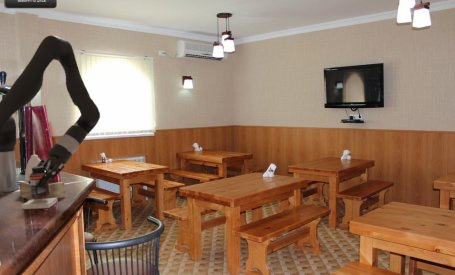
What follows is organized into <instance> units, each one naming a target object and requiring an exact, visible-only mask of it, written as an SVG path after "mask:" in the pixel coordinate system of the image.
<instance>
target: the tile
mask: <svg viewBox="0 0 455 275" xmlns="http://www.w3.org/2000/svg"><path fill="white" fill-rule="evenodd" d="M58 202H59V201H58V199H57V198H43V199H31V200H30V199H28V201H26V202H24V203H22V205H21V208H22V209H21V210H33V209H36V210H37V209H50V208H51V207H52V206H53V205H56V203H58Z"/></svg>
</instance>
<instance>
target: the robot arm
mask: <svg viewBox="0 0 455 275" xmlns="http://www.w3.org/2000/svg"><path fill="white" fill-rule="evenodd" d="M74 52H75V51H74V49H73V46H72V44H71V43H70V41H69V40H67V39H64V38H63V37H59V36H56V35H52V34H51V35H50V34H49V35H47V36H46V37H44V38H43V39H42V40H41V42H40V44H39V45H38V47H37V49H36V50H35V52H34V54H33V56H31V57H32V58H31V59H30V60H29V62H28V64H27V65H26V66H25V68H24V69H23V71H22V72H21V73H20V75H19V76H18V77H17V78H16V80H15V81H14V83H12V85H11V86H10V89H9V90H8V91H7V92H6V93H5V95H4V96H3V97H2V99H0V100H1V101H0V193H8V192H15V191H17V190H18V175H17V164H16V163H17V161H16V148H15V147H16V144H17V123H16V120H15V118H14V117H13V115H14V114H15V113H17V111H19V110H21V109H22V108H23V107H25V106H27V105H28V104H29V103H31V102H32V101H33V99H34V98H35V97H36V96H37V94H38V93H39V92H40V91H41V89H42V87H43V83H44V74H45V71H46V69H47V68H48V67H49V65H50V64H51V63H52V62H53V61H54V60H55V61H57V62H59V63H60V66H61V67H62V69H63V71H64V73H65V86H66V90H67V93H68V94H69V97H70V99H71V102H72V104H74V106H76V107H77V109H78V110H79V112H80V116H79V117H78V119H77V120H76V122H75V123H74V124H72V125H70V127H69V128H68V129H67V130H66V131H65V133H64V134H63V135H61V136H60V138H59V139H58V140H57V141H56V142H55V143H54V145H53V146H52V147H51V148H50V149H49V151H48V152H47V154H48V157H47V159H46V160H44V159H40V160H41V161H40V163H39V164H38V165H37V166H44V171H45V174H44V176H43V177H42V178H41V179H40V181H39V182H38V183H37V186H38V187H40V188H43V186H44V185H45V184H46V183H47V181H48V182H49V181H50V180H54V179H55V178H57V176H58V175H59V174H60V173H61V171H62V170H63V169H64V168H65V165H66V164H67V163H68V162H69V161H70V159H71V158H72V156H73V155H74V154H75V153H76V152H77V150H78V149H79V146H80V145H81V144H82V143H83V141H84V140H85V139H86V137H87V136H88V135H89V134H90V132H92V130H94V128H95V127H96V126H97V124H98V122H99V120H100V118H101V113H100V109H99V107H98V106H97V105H96V103H95V102H94V100H93V98H91V95H90V94H89V91H88V89H87V87H86V85H85V82H84V80H83V78H82V75H81V72H80V69H79V67H78V64H77V59H76V55H75V53H74ZM28 183H29V184H30V180H29V182H28Z"/></svg>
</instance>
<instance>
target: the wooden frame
mask: <svg viewBox="0 0 455 275" xmlns="http://www.w3.org/2000/svg"><path fill="white" fill-rule="evenodd" d="M28 182H29V181H26V180H25V181H24V180H23V181H19V192H20V193H19V195H20V197H21V198H24V199H27V200H31V199H32V197H31V187H30V184H29V183H28ZM65 197H66V189H65V181H60V182H53V183H49V197H47V198H57V200H58V199H61V198H62V199H63V198H65Z"/></svg>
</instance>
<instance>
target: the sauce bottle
mask: <svg viewBox="0 0 455 275" xmlns="http://www.w3.org/2000/svg"><path fill="white" fill-rule="evenodd" d="M41 160H42V159H40V157H39V156H38V154H36V151H35V150H33V154H32V155H30V158H29V160H28V161H27V163H26V168H25V174H24V179H25V181H29V180H30V174H31V173H32V172H33V171H32V167H37V165H38V164H39V163H40V161H41Z"/></svg>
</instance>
